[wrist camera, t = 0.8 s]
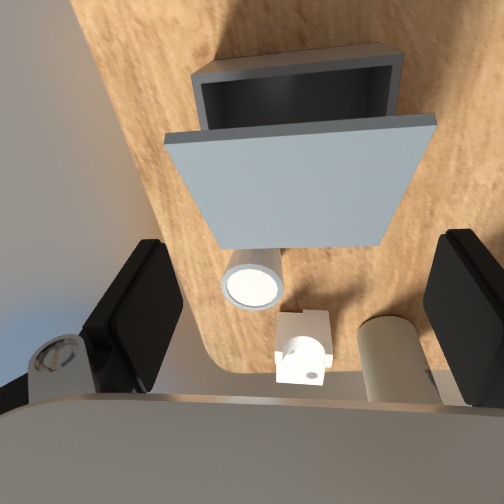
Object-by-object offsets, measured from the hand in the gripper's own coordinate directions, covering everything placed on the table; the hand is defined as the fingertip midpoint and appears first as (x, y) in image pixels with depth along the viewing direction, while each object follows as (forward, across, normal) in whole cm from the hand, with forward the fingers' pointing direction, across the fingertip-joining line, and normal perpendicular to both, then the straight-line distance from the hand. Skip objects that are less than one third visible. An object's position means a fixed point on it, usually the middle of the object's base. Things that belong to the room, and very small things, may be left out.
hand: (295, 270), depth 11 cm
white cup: (+25, +5, +17) cm, 30 cm away
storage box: (+24, 0, +3) cm, 25 cm away
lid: (+13, 0, +4) cm, 14 cm away
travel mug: (+25, -12, +32) cm, 42 cm away
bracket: (+25, 0, +34) cm, 42 cm away
